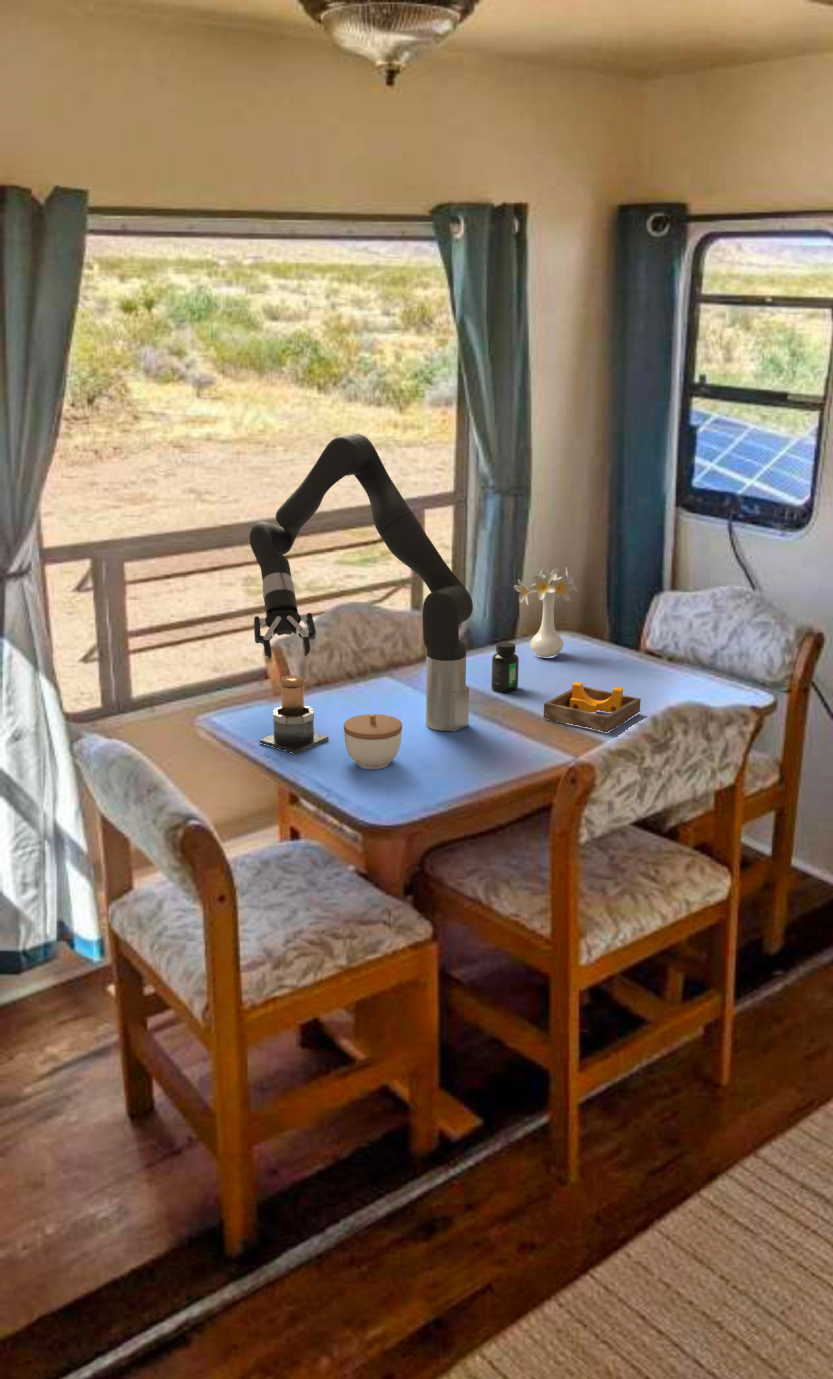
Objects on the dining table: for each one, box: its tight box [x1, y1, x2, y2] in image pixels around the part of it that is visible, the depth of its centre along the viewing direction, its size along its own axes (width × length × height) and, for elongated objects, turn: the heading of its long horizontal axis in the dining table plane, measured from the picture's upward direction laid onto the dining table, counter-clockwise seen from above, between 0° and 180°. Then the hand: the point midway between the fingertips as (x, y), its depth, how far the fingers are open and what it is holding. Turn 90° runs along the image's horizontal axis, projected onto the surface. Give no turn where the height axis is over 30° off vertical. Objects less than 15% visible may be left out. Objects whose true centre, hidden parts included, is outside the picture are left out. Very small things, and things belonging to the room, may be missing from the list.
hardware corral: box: [543, 685, 642, 732], centre depth 291 cm, size 17×17×4 cm
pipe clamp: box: [569, 681, 624, 712], centre depth 294 cm, size 12×4×6 cm, turn 68°
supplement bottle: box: [490, 641, 520, 694], centre depth 309 cm, size 7×7×12 cm
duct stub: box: [259, 704, 329, 755], centre depth 273 cm, size 11×11×8 cm
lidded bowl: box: [343, 713, 403, 770], centre depth 261 cm, size 13×13×11 cm
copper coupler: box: [279, 674, 305, 717], centre depth 271 cm, size 5×5×9 cm
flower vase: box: [513, 566, 579, 657], centre depth 334 cm, size 13×18×25 cm
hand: (288, 655), depth 281 cm, fingers open, 8 cm apart
